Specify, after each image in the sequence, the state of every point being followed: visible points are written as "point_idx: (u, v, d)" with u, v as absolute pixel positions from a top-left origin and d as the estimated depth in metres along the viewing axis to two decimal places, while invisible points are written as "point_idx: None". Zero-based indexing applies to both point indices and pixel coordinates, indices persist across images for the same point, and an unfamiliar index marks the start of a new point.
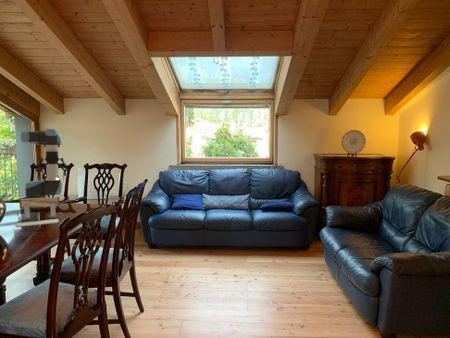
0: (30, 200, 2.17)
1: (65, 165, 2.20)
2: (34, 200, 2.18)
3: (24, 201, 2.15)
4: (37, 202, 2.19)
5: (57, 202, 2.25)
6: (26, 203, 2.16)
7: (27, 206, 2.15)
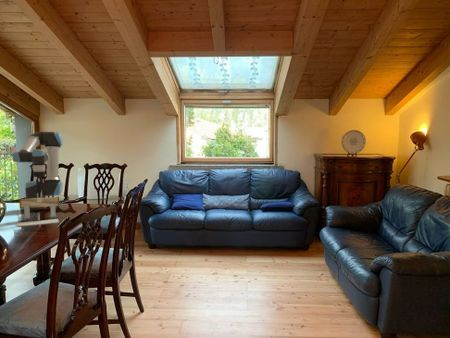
0: (30, 200, 2.17)
1: (37, 186, 2.12)
2: (34, 200, 2.18)
3: (24, 201, 2.15)
4: (37, 202, 2.19)
5: (57, 202, 2.25)
6: (26, 203, 2.16)
7: (27, 206, 2.15)
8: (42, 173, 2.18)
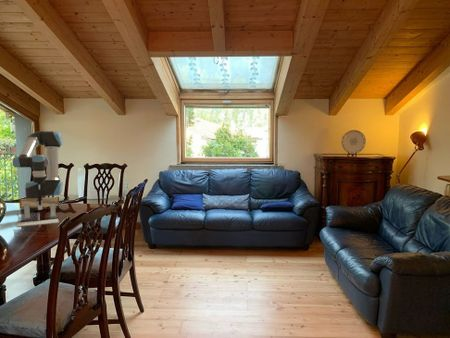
0: (30, 200, 2.17)
1: (37, 194, 2.15)
2: (34, 200, 2.18)
3: (24, 201, 2.15)
4: (37, 202, 2.19)
5: (57, 202, 2.25)
6: (26, 203, 2.16)
7: (27, 206, 2.15)
8: (42, 179, 2.18)
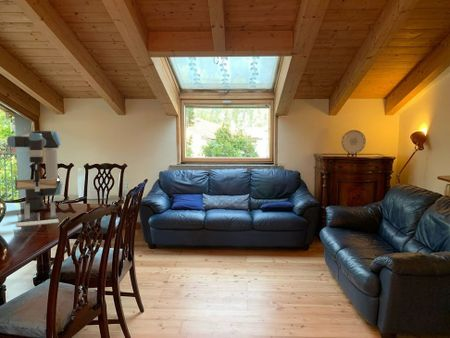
0: (26, 181, 2.04)
1: (34, 175, 2.03)
2: (31, 181, 2.05)
3: (20, 182, 2.02)
4: (34, 183, 2.06)
5: (55, 184, 2.12)
6: (22, 184, 2.03)
7: (27, 206, 2.15)
8: (39, 158, 2.05)
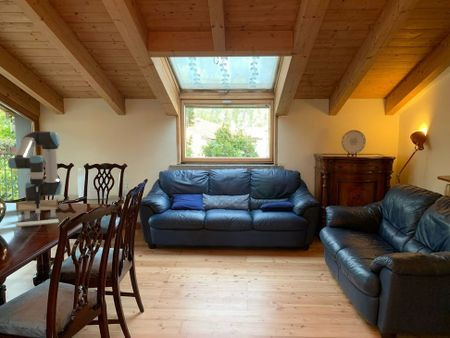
0: (27, 203, 2.05)
1: (35, 197, 2.04)
2: (31, 203, 2.06)
3: (21, 204, 2.03)
4: None
5: (56, 205, 2.13)
6: (23, 206, 2.04)
7: None
8: (40, 180, 2.07)
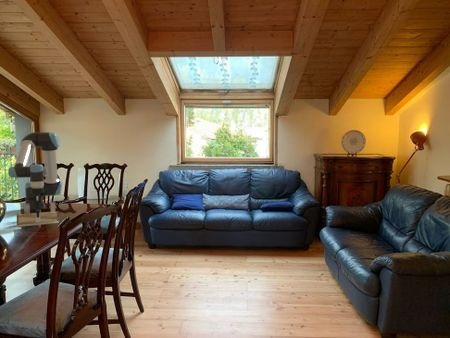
0: (28, 216, 2.06)
1: (35, 206, 2.03)
2: (32, 216, 2.07)
3: (21, 217, 2.04)
4: (35, 218, 2.08)
5: (56, 217, 2.14)
6: (24, 219, 2.05)
7: (27, 206, 2.15)
8: (40, 190, 2.07)
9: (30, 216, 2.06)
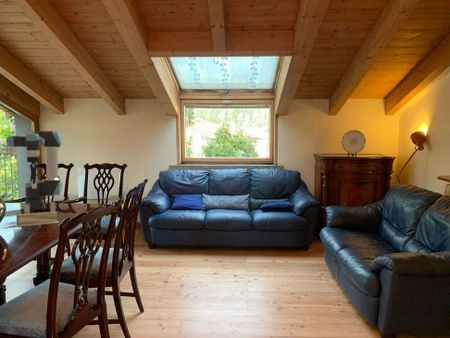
0: (28, 216, 2.06)
1: None
2: (32, 216, 2.07)
3: (21, 217, 2.04)
4: (35, 218, 2.08)
5: (56, 217, 2.14)
6: (24, 219, 2.05)
7: (27, 206, 2.15)
8: (36, 158, 2.11)
9: (30, 216, 2.06)
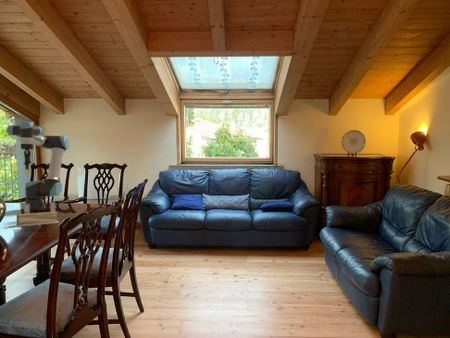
0: (28, 216, 2.06)
1: None
2: (32, 216, 2.07)
3: (21, 217, 2.04)
4: (35, 218, 2.08)
5: (56, 217, 2.14)
6: (24, 219, 2.05)
7: (27, 206, 2.15)
8: (30, 145, 2.20)
9: (30, 216, 2.06)
